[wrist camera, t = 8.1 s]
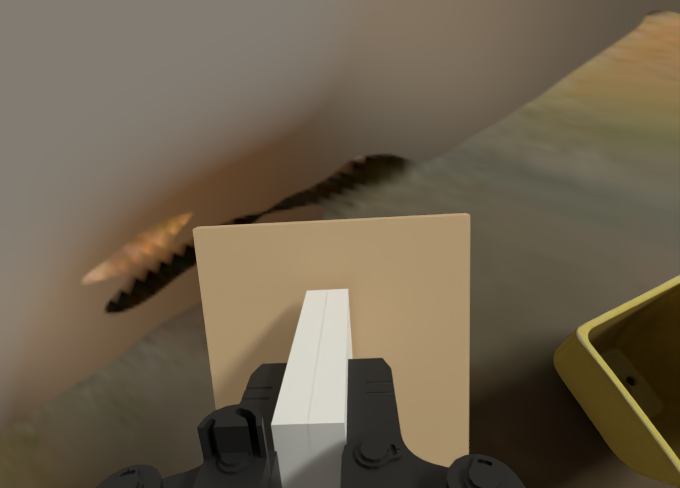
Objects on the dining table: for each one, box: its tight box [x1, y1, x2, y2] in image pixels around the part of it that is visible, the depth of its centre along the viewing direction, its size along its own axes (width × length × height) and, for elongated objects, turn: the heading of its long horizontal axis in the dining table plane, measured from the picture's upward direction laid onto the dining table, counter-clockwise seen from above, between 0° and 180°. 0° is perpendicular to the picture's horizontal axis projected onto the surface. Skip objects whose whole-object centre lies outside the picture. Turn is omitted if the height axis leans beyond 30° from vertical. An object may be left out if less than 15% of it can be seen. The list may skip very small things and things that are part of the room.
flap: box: [193, 213, 470, 467], centre depth 16 cm, size 10×1×14 cm
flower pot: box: [553, 275, 680, 488], centre depth 25 cm, size 9×9×9 cm
